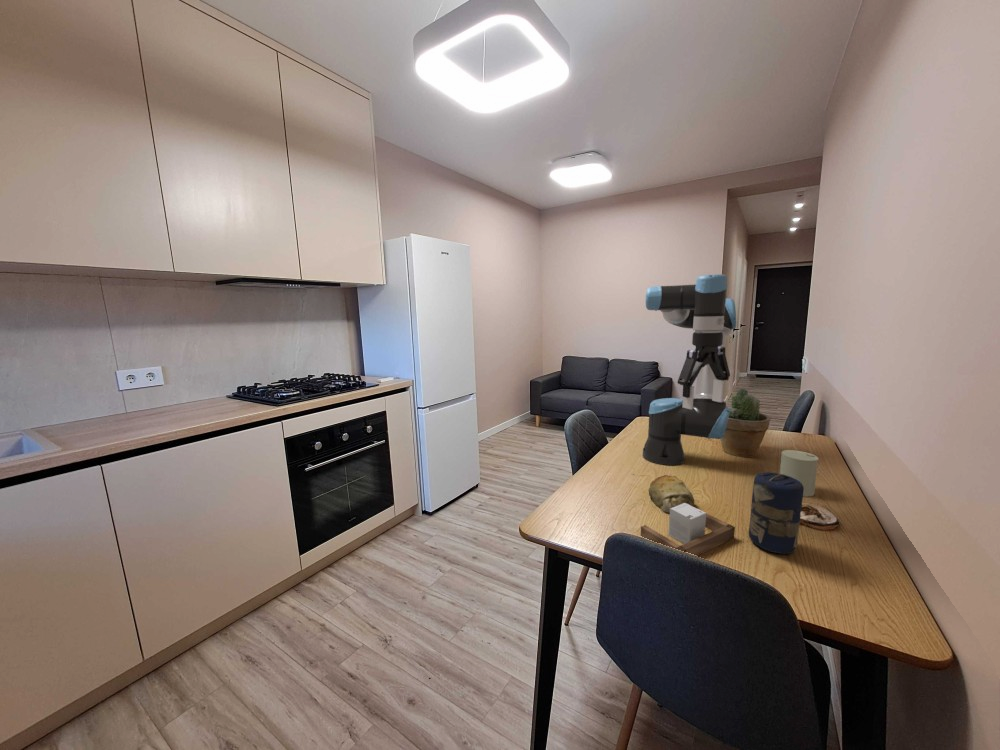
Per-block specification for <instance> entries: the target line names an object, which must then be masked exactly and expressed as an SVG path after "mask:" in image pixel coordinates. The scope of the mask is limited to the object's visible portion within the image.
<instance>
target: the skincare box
mask: <svg viewBox="0 0 1000 750" xmlns="http://www.w3.org/2000/svg"><path fill="white" fill-rule="evenodd" d="M706 513H707V512H705V511H703V510H701V509H699V508H696V507H694V506H693V505H692V506H691V505H689V504H686V503H683V504H681V505H678V506H676V507H673V508H670V513H669V519H668V533H667V534H668V536H670V537H672V538H673V539H675V540H676V541H679V542H681V543H682V544H685V543H688V542H690V541H692V540H694V539H697V538H699V537H701V536H703V535H706V527H705V524H706Z"/></svg>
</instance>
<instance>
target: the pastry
mask: <svg viewBox="0 0 1000 750" xmlns="http://www.w3.org/2000/svg"><path fill="white" fill-rule="evenodd" d="M648 495H649V498H650V499H651V502H653V504H655V505H656V506H657V508H659V509H660V510H661V512H662V513H665V514H670V508H673V507H676V506H678V505H681V504H683V503H686V504H689V505H691V506H693V505H694V504H695V498H694V496H693V493H692V492H691V491H690V489H689V488H688V487H687V486H686V484H685V483H684V480H682V479H680V478H679V477H678V476H676V475H667V474H665V475H661V476H658V477H656V478H655V479H654V480H652V481H651V482H650V485H649V487H648Z"/></svg>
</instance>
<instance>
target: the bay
mask: <svg viewBox="0 0 1000 750" xmlns="http://www.w3.org/2000/svg"><path fill="white" fill-rule="evenodd" d="M705 513H706V524H705V529H706V528H707V529H708V530H710V532H708V533H705V535H703V536H701V537H699V538H697V539H694V540H692V541H690V542H688V543H685V544H684V543H682V544H681V545H680V544H679V543H677V542H675V541H674V540H671V539H670V538H668V537H666V536H665V535H663V534H662V533H660V532H658V531H656V530H654V529H653V528H651V527H650V526H647V524H644V525H641V526H640V536H642V537H644V538H647V539H649V540H652V541H654V542H657V543H661V544H663V545H666V546H669V547H672V548H675V549H678V550H681V551H684V552H688V553H691V554H694V555H698V556H699V555H702V554H704V553H706V552H708V551H710V550H712V549H715V548H716V547H718V546H721V545H722V544H723V545H724V543H727V542H729V541H731V540H733V539H734V538H735V531H736V530H735V529H736V526H734V525H732V524H730V523H728V522H725V521H723V520H721V519H718V518H717V517H715V516H713V515H711V514H709V513H707V512H705ZM703 552H704V553H703Z"/></svg>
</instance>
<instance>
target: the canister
mask: <svg viewBox="0 0 1000 750" xmlns="http://www.w3.org/2000/svg"><path fill="white" fill-rule="evenodd" d="M752 487H753V488H752V496H751V502H750V503H751V504H750V514H749V515H750V517H749V525H748V527H749V528H748V537H749V539H750V540H751V542H752V543H754V544H755V545H756V546H758V547H759V548H761V549H763V550H765V551H768V552H772V553H775V554H782V555H785V554H791V553H794V552H795V551H796V550H797V547H798V539H799V533H800V526H801V525H800V515H801V507H802V503H803V498H804V496H803V491H804V487H803V485H802V483H801V482H799V481H798V480H796V479H794V478H792V477H790V476H787V475H783V474H780V472H779V473H777V472H770V471H766V472H759V473H757V474H756V475H755V476H754V480H753V486H752Z"/></svg>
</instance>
